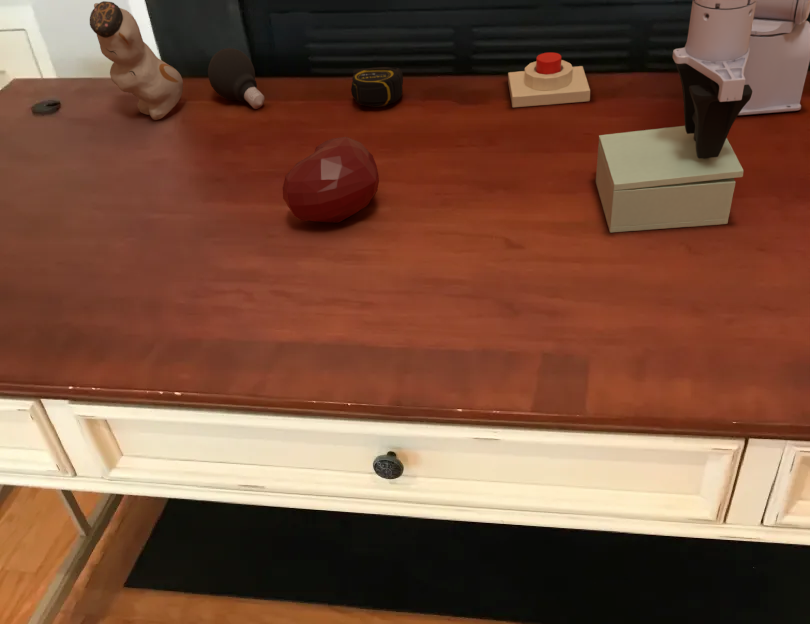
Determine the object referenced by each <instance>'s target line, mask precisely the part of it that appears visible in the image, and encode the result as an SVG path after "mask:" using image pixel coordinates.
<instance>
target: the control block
mask: <svg viewBox="0 0 810 624" xmlns="http://www.w3.org/2000/svg"><path fill="white" fill-rule="evenodd" d="M507 85H508V90H509V96H510V102H511V107H512V109H513V108H526V107H537V106H551V105H559V104H560V105H561V104H571V103H572V104H573V103H583V102H590V100H591V88H590V85H589V81H588V79H587V75H586V73H585V69H584V66H583V65H579V66H573V65H572V64H571V63H570V62H568V61H566V60H564V59H561V71H560V72H558V73H555V74H547V75H546V74H539V73H537V72H536V61H533V62H529V64H527V65H526V66H525V67H524V70H519V71H510V72H507Z"/></svg>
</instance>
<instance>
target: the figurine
mask: <svg viewBox="0 0 810 624" xmlns="http://www.w3.org/2000/svg"><path fill="white" fill-rule="evenodd" d="M89 27H90V28H91V30H92V31H93V32H94V33H95V34H96V38H97V42H98V43H99V44H98V45H99V49H100V52H101V54H102V55H103V56H104V57H105V58H107V59H108V60H109V61H111V62H112V64H111V66H110V70H109V77H110V80H111V81H112V83H113V84H114V85H116V86H117V88H119V90H120V91H122V92H124V93H128V94H132V95H134V97H136V98H137V99H138V102H137V107H138V110H139V112H140V113H141V114H144V115H146V116H147V115H148V116H150V118H151V119H152V120H154V121H157V120H161V119H163V118H164V117H165V116H167V114H169V112H171V111H172V110H173V108H174V107H176V105H178V103H179V101H180V99H181V97H182V96H183V90H184V81H183V78H182V75H181V74H180V72H179V71H178V70H177V69H176V68H174V67H173V66H172V65H169V64H168V63H166V62H165V61H164V60H162V59H160V58H159V57H158V56H157V55H156V54H155V53H154V52H153V49H152V48H150V47H149V45H148V44H147V43H145V41H144V39H143V36H142V33H141V30H140V26H139V24H138V21H137V20H136V19H135V17H134V16H133V14H132V13H131V12H130V11H128V10H127V9H124V8H122V7H119V6H118V5H117V4H116V3H115V2H113V1H105V0H103V1H101V2H96V3H94V4H93V9H92V11H91V12H90V16H89Z"/></svg>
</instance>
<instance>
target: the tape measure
mask: <svg viewBox="0 0 810 624" xmlns="http://www.w3.org/2000/svg"><path fill="white" fill-rule="evenodd" d="M351 80H352V81H351V87H350V92H351V96H352V98H353V99H354V100H355V102H356V103H357V104H358V105H360V106H363V107H370V108H371V107H373V108H379V107H380V108H381V107H387V105H392V104H394V103H396V102H398V101H399V100H400V99H401V98H402V96H403V85H404V76H403V72H402V70H401V69H400V68H399V67H394V66H379V67H368V68H356V69H354V70H353V72H352V79H351Z"/></svg>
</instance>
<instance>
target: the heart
mask: <svg viewBox="0 0 810 624" xmlns="http://www.w3.org/2000/svg"><path fill="white" fill-rule="evenodd" d="M379 182H380V177H379V171H378V166H377V163H376V160H375V157H374V155H373V154H372V153H371V152H370V151H369V150H368V149H367V148H366V146H365V145H364V144H363V143H362V142H361V141H358V140H356V139H353V138H350V137H349V136H342V137H334V138H330V139H327V140H325V141H323V142H321V143H320V144H319V145H317V146H316V147H315V149H314V151H313V153H312V154H310V155H308V156H306V157H304V158H303V159H301V160H300V161H298V162H297V163H296V164H295V165H294V166H292V168H291V169H290V170H289V171H288V173H287V174H286V175H285V177H284V180H283V185H282V199H283V200H284V202H285V204H286V205H287V207H288V208H289V210H290V211H291V212H290V213H292V215H293V217H295V218H296V219H298V220H300V221H305V222H317V223H318V222H319V223H333V224H334V223H335V224H336V223H337V224H339V223H340V222H342V221H344V220H346V219H348V218H350V217H352V216H354V215H355V214H357V213H359V212H360V211H362V210H364V208H366V207H368V206H369V204H370V202H371V201H372V199H373V197H374V196H375V195H376V193H377V192H378V188H379Z"/></svg>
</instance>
